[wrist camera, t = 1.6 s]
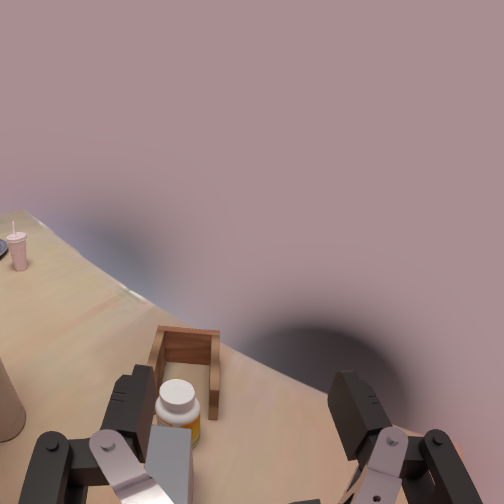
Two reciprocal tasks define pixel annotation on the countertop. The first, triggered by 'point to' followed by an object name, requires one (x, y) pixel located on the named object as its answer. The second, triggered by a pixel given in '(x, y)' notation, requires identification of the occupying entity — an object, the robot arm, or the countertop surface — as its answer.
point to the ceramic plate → (3, 246)
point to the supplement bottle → (179, 407)
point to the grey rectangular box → (171, 462)
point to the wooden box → (187, 356)
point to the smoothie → (18, 249)
